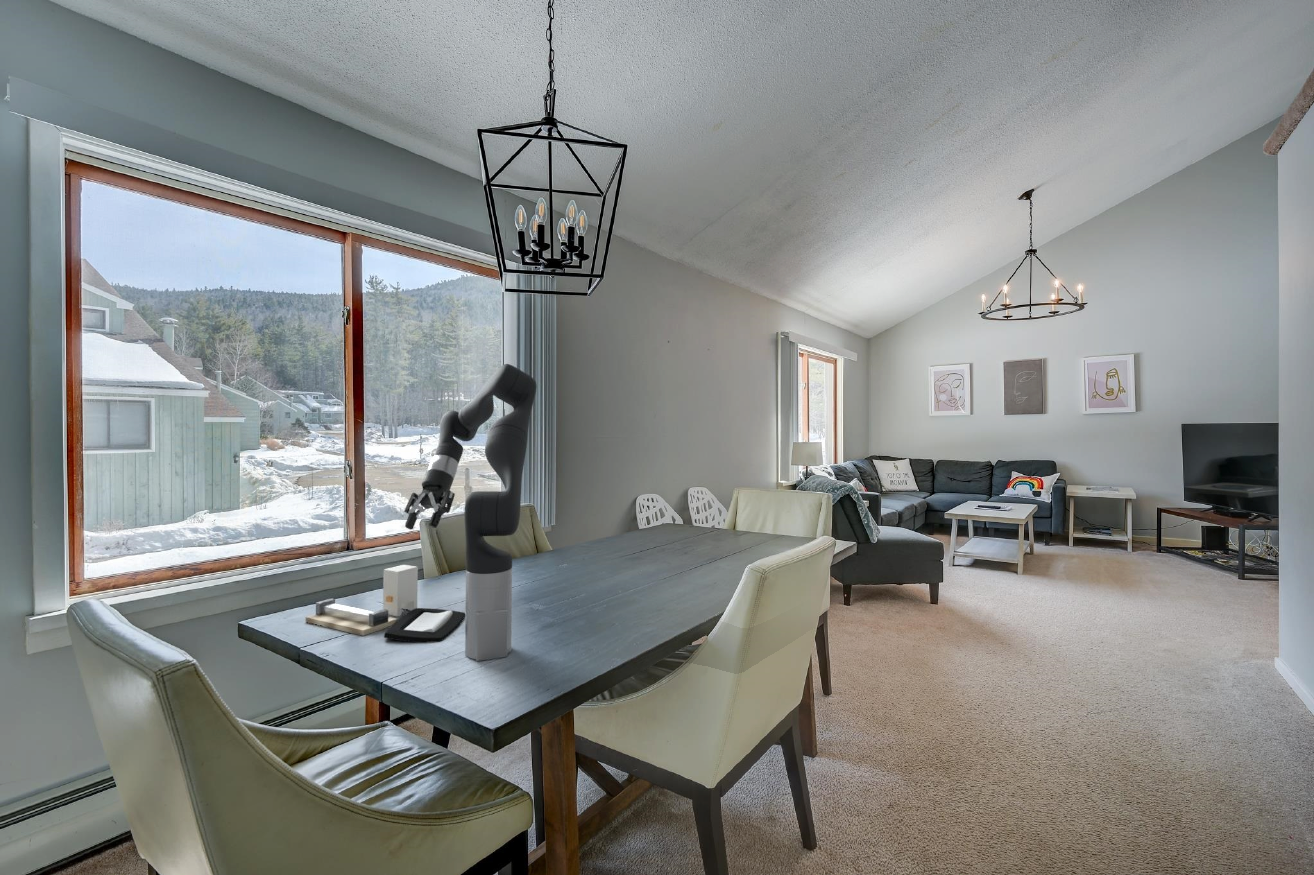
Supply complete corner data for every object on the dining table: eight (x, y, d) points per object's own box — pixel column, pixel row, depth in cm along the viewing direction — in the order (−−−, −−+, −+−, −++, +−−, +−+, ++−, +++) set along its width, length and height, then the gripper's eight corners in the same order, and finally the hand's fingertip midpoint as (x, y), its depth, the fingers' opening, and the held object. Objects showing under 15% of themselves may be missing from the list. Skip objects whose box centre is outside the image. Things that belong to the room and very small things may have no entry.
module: (417, 609, 147) (417, 566, 147) (395, 617, 141) (395, 572, 141) (403, 607, 149) (403, 564, 149) (381, 614, 143) (381, 570, 143)
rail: (388, 621, 134) (388, 609, 134) (373, 627, 130) (373, 614, 130) (331, 609, 142) (331, 598, 142) (315, 614, 138) (315, 602, 138)
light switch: (444, 635, 124) (378, 629, 123) (442, 649, 124) (377, 643, 123) (470, 607, 144) (414, 602, 143) (469, 619, 144) (413, 614, 143)
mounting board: (397, 623, 136) (397, 618, 136) (363, 635, 128) (363, 630, 128) (340, 611, 144) (340, 607, 144) (305, 622, 136) (305, 617, 136)
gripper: (468, 479, 161) (449, 532, 153) (430, 482, 167) (410, 534, 159) (451, 465, 156) (430, 520, 147) (412, 470, 162) (390, 523, 153)
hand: (420, 527), depth 153 cm, fingers open, 8 cm apart
